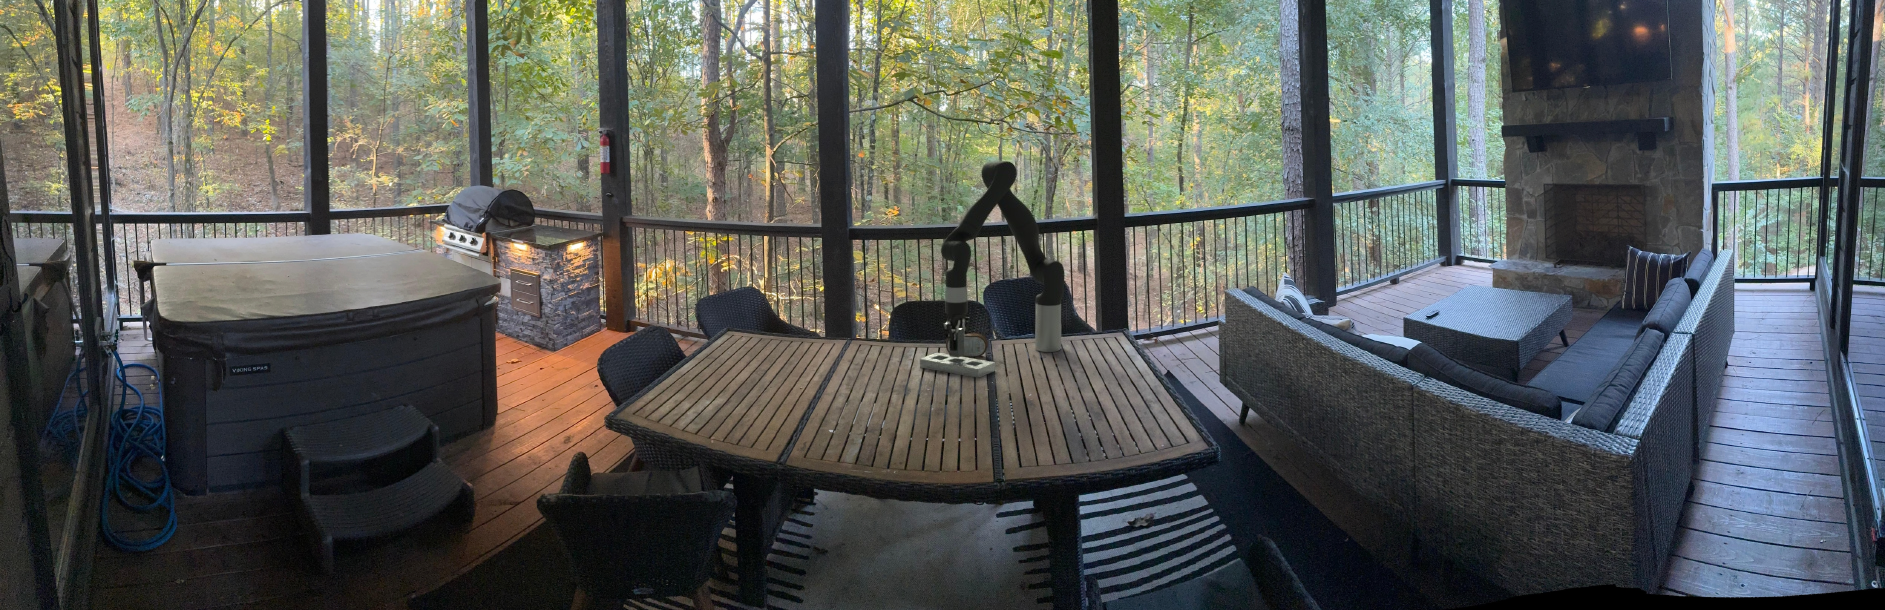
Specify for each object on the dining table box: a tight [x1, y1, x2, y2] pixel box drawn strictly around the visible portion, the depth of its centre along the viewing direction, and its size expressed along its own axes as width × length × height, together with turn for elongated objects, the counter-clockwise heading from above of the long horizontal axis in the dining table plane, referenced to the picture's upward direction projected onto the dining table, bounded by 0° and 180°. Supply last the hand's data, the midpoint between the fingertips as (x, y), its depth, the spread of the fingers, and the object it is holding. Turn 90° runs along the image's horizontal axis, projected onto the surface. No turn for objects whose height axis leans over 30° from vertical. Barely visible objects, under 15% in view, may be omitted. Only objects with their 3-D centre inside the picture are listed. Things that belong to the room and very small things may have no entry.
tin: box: [945, 332, 989, 358], centre depth 324 cm, size 15×3×8 cm, turn 84°
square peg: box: [948, 329, 965, 358], centre depth 306 cm, size 4×4×9 cm
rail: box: [919, 352, 996, 379], centre depth 308 cm, size 10×24×3 cm, turn 54°
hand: (956, 348), depth 307 cm, fingers closed on square peg, 3 cm apart
